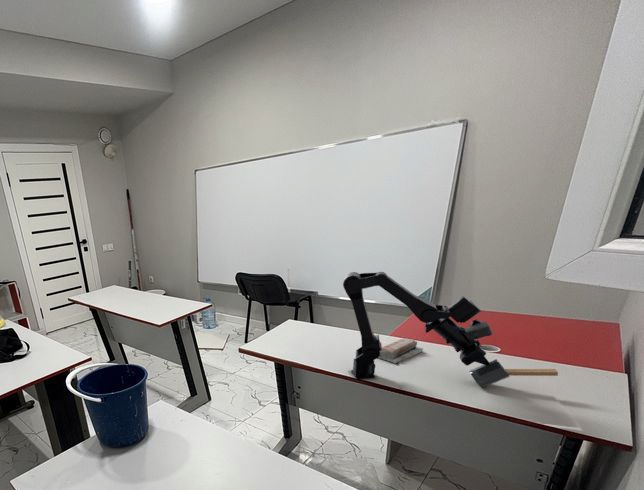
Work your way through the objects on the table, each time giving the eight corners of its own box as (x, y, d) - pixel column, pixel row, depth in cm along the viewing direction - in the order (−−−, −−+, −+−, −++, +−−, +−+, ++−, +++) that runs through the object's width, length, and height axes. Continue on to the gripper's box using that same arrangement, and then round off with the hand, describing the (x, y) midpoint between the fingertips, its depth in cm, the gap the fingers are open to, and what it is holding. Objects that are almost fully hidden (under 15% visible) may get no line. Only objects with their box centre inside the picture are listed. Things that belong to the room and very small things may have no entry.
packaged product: (397, 353, 138) (373, 346, 146) (396, 364, 140) (372, 356, 148) (425, 340, 145) (400, 334, 154) (423, 351, 147) (399, 345, 156)
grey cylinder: (474, 380, 116) (503, 369, 111) (466, 367, 121) (493, 355, 116) (484, 391, 118) (512, 380, 113) (475, 377, 123) (502, 366, 118)
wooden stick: (477, 372, 117) (558, 372, 108) (476, 369, 119) (555, 368, 110) (477, 375, 118) (557, 375, 108) (475, 372, 120) (554, 372, 110)
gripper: (481, 324, 105) (524, 360, 104) (468, 306, 120) (505, 337, 119) (445, 348, 112) (485, 382, 110) (437, 328, 127) (472, 358, 125)
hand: (487, 363), depth 116 cm, fingers closed, pressing on grey cylinder
